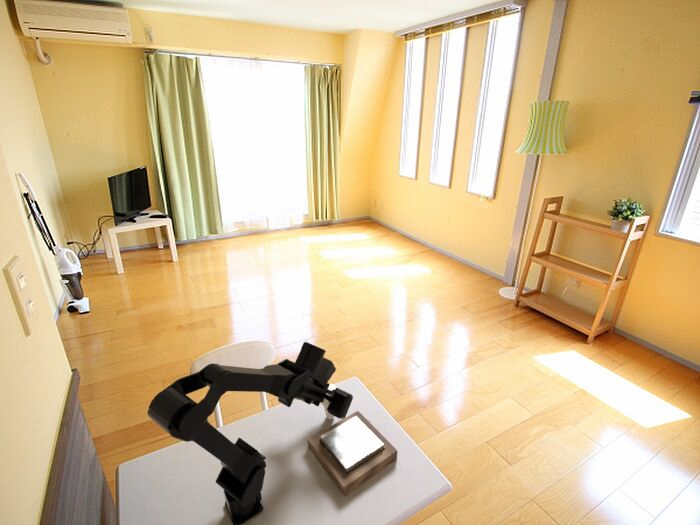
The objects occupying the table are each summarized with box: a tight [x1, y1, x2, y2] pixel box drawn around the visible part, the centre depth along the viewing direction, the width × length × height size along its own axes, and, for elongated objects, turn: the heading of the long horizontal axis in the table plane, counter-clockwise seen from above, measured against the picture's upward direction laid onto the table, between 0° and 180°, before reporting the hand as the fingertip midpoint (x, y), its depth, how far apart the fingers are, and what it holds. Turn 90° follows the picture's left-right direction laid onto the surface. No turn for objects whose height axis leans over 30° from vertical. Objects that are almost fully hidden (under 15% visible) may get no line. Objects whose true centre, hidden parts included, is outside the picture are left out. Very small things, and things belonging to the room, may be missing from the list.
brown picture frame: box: [307, 410, 398, 497], centre depth 91 cm, size 16×16×3 cm
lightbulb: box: [320, 383, 339, 420], centre depth 101 cm, size 6×6×11 cm
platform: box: [321, 416, 384, 475], centre depth 91 cm, size 11×11×2 cm
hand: (332, 396), depth 101 cm, fingers closed on lightbulb, 6 cm apart
